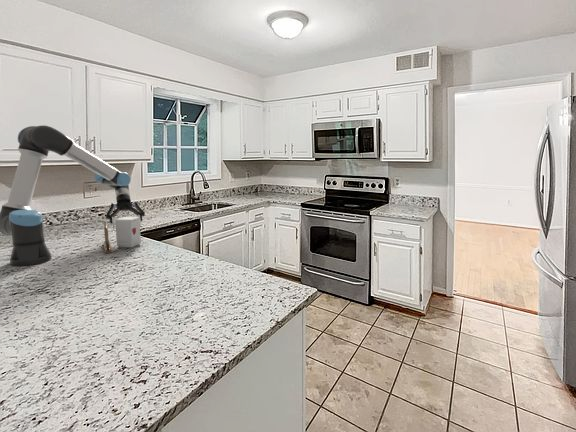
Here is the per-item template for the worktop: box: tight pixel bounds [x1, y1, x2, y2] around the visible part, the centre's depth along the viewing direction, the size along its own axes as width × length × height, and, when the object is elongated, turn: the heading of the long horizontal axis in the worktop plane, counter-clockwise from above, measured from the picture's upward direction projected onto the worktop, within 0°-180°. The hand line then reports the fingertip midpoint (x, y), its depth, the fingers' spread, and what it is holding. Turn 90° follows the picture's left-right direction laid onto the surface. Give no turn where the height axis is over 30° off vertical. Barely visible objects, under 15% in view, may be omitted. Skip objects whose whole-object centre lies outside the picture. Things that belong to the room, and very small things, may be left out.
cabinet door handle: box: [103, 220, 113, 254], centre depth 178 cm, size 3×22×15 cm, turn 30°
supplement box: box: [114, 216, 142, 248], centre depth 182 cm, size 9×9×15 cm
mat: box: [118, 244, 141, 250], centre depth 184 cm, size 10×10×1 cm
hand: (127, 226), depth 190 cm, fingers open, 13 cm apart
